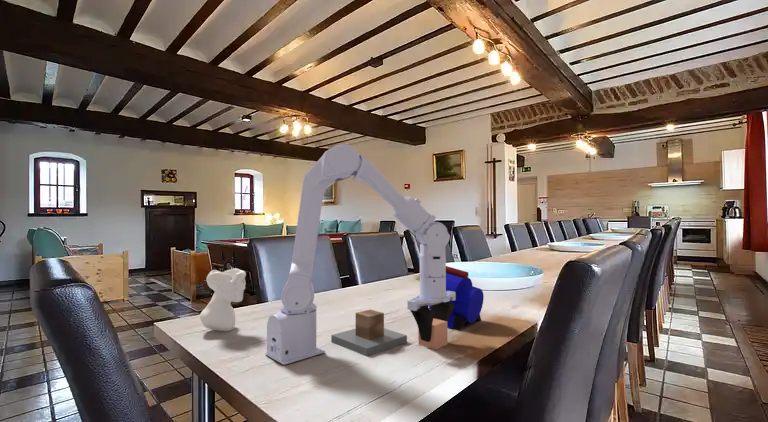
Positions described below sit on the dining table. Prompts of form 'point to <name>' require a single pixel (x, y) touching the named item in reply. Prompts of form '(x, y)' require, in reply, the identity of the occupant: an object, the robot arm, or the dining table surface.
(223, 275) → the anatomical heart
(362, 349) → the base plate
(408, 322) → the dining table surface
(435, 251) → the robot arm
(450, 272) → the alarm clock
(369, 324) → the walnut block
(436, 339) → the terracotta block
